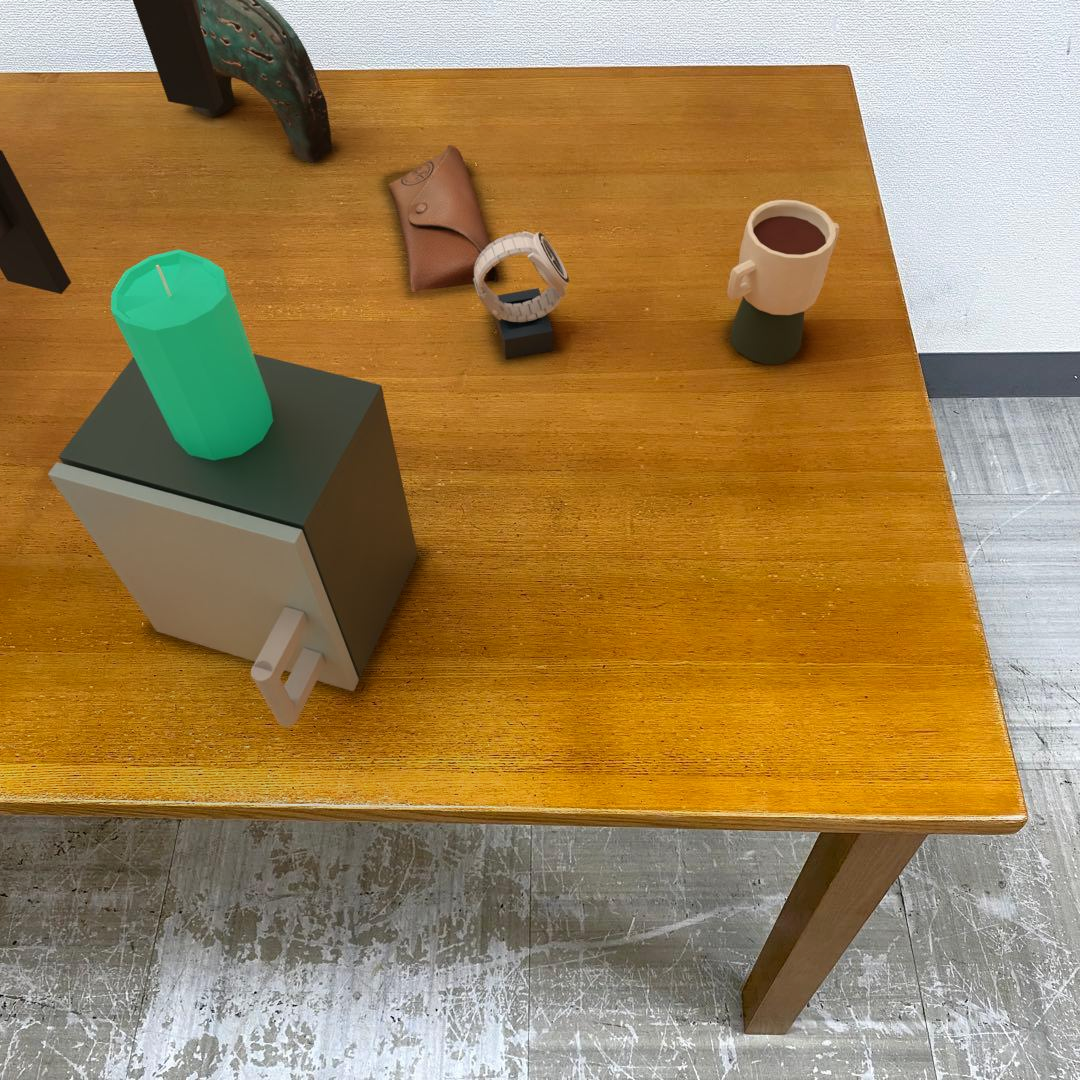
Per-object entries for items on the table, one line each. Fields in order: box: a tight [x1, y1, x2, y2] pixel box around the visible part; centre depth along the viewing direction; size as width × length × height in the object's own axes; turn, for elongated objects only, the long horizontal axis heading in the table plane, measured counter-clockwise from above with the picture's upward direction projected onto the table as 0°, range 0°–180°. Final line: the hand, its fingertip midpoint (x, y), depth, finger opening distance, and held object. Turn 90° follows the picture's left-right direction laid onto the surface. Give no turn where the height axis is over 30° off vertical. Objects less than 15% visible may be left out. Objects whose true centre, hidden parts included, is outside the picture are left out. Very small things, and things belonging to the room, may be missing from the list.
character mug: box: [726, 199, 840, 366], centre depth 86 cm, size 11×7×13 cm, turn 121°
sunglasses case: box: [388, 144, 499, 293], centre depth 99 cm, size 18×7×7 cm
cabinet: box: [58, 353, 419, 678], centre depth 69 cm, size 11×16×20 cm
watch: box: [473, 230, 570, 360], centre depth 87 cm, size 6×8×11 cm
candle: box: [110, 248, 273, 460], centre depth 56 cm, size 6×6×12 cm
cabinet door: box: [47, 461, 360, 728], centre depth 65 cm, size 6×16×20 cm, turn 72°
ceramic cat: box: [191, 0, 333, 164], centre depth 102 cm, size 20×6×20 cm, turn 54°
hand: (123, 186), depth 47 cm, fingers open, 13 cm apart
